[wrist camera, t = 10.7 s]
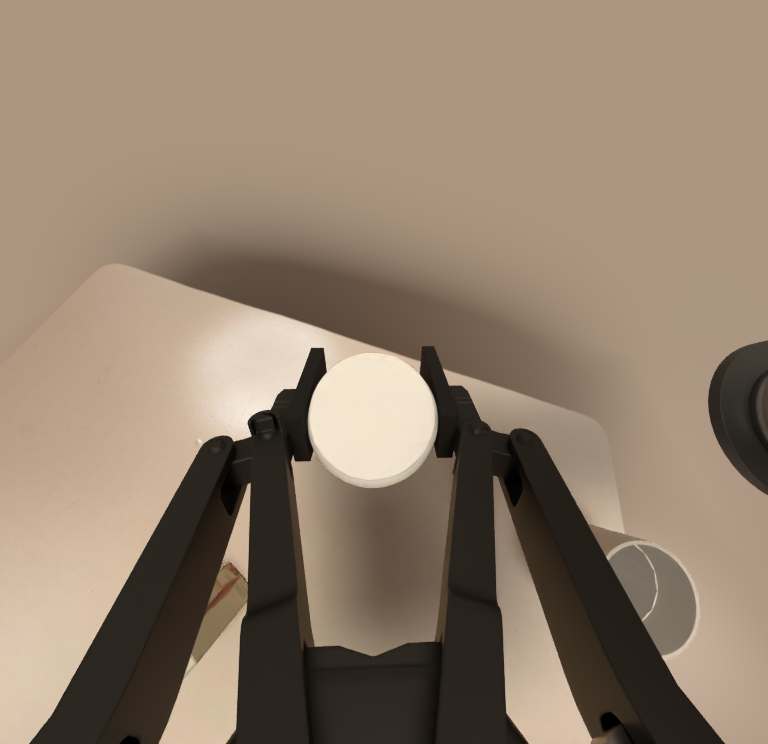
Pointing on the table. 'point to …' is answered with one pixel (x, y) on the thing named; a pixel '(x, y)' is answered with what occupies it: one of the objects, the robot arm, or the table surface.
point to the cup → (655, 589)
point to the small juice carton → (219, 611)
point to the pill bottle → (372, 420)
